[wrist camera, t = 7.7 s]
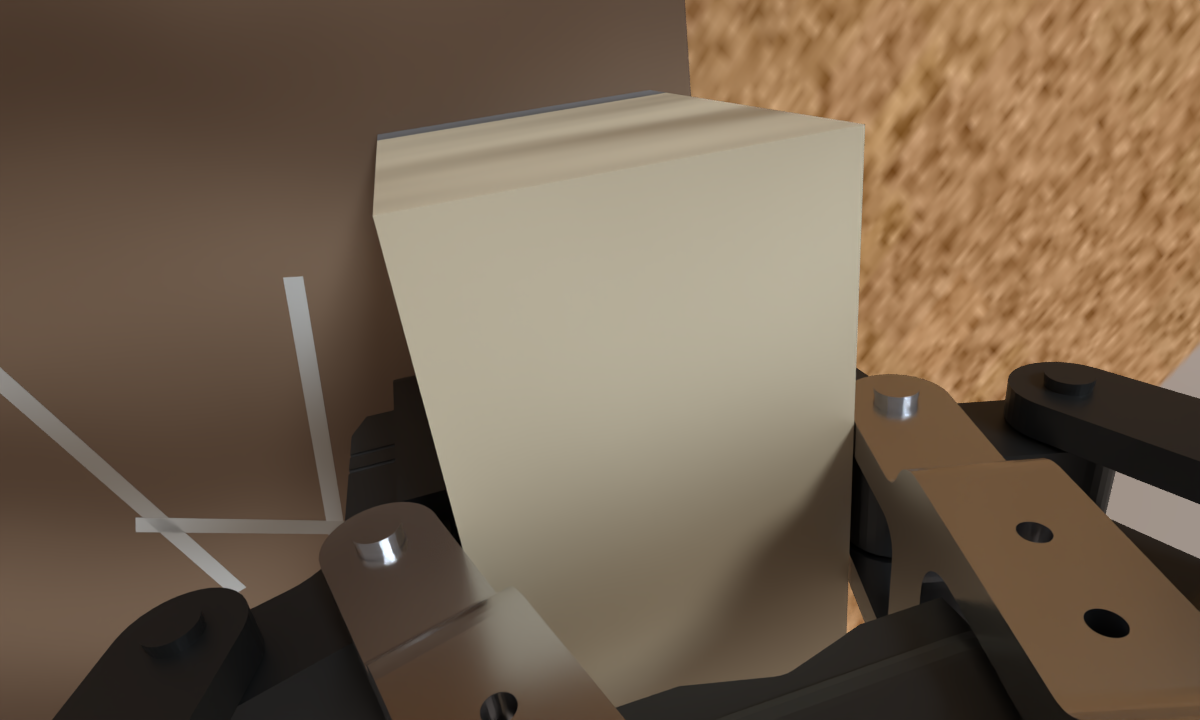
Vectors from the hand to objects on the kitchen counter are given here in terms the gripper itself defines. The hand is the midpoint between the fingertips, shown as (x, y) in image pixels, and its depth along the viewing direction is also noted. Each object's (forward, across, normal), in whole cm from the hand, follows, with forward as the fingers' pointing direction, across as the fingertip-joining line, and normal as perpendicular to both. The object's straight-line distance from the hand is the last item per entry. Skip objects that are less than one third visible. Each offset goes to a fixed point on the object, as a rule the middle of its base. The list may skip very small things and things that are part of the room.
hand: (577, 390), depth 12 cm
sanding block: (+1, 0, 0) cm, 1 cm away
